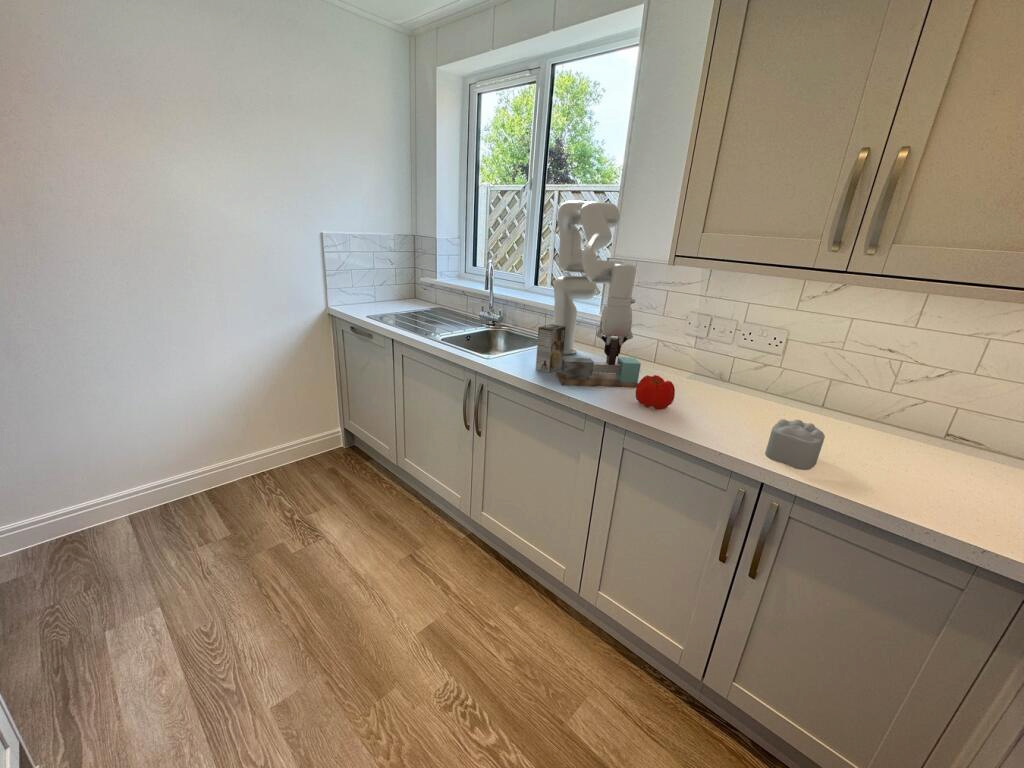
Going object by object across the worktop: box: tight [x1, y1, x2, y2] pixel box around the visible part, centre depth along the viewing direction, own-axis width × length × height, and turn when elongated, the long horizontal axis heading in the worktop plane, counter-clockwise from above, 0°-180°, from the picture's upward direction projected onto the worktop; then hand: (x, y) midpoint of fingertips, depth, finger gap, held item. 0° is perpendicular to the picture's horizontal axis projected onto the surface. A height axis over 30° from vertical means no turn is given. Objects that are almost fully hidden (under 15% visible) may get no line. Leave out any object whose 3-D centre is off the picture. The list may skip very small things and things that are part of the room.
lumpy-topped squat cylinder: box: [764, 418, 826, 471], centre depth 109 cm, size 10×13×9 cm
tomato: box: [635, 374, 676, 411], centre depth 136 cm, size 11×12×9 cm
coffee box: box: [535, 323, 566, 374], centre depth 165 cm, size 9×6×16 cm
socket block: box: [614, 356, 641, 383], centre depth 156 cm, size 6×7×7 cm
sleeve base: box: [556, 356, 639, 389], centre depth 156 cm, size 27×12×7 cm, turn 93°
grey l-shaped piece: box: [593, 336, 622, 374], centre depth 154 cm, size 16×3×12 cm, turn 93°
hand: (611, 354), depth 154 cm, fingers closed on grey l-shaped piece, 2 cm apart
